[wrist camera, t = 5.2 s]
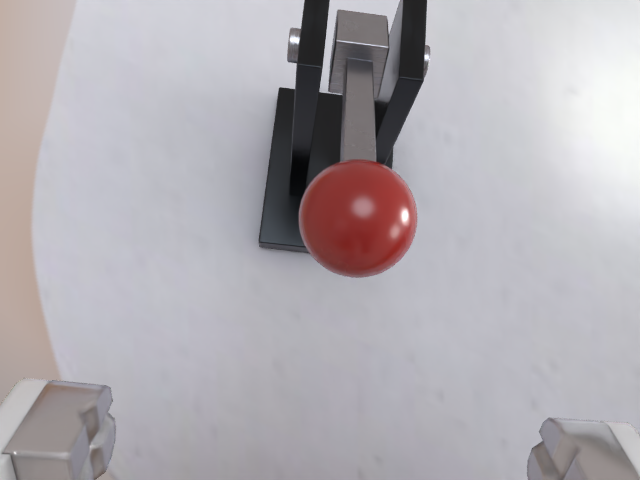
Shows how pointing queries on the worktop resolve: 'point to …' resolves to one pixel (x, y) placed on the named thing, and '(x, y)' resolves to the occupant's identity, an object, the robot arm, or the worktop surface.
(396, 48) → the bracket
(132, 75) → the worktop surface
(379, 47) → the lever
